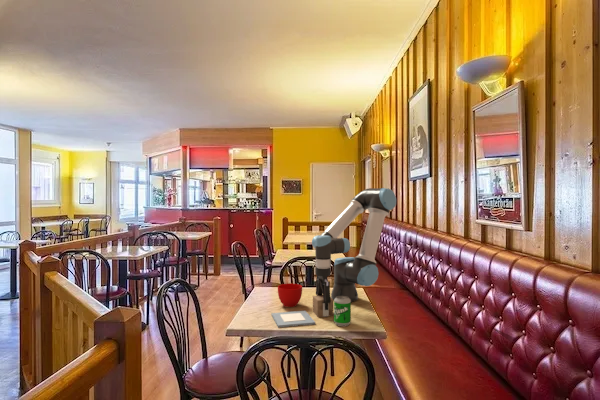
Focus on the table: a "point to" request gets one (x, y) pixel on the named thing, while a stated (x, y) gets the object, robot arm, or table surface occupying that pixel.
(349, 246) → the robot arm
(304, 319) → the baseplate
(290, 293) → the ceramic cup
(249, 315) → the table surface
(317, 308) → the walnut block
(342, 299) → the soda can
